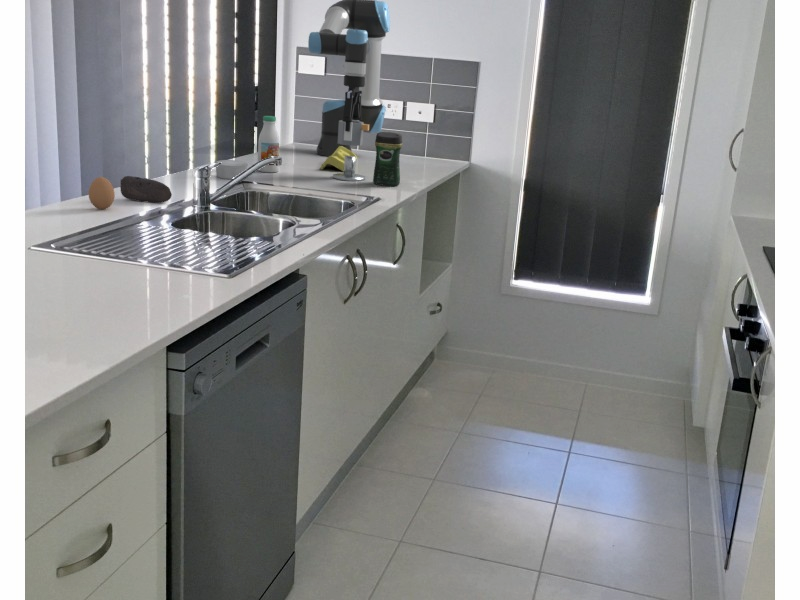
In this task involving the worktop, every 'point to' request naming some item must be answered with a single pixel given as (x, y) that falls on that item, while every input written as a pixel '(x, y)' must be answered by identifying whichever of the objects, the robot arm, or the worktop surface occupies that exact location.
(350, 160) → the duct stub
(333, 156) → the plastic component
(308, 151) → the worktop surface
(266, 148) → the milk bottle
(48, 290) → the worktop surface
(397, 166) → the coffee jar
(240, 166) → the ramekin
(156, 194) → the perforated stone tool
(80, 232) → the worktop surface
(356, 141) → the grey octagonal holder
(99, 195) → the egg
